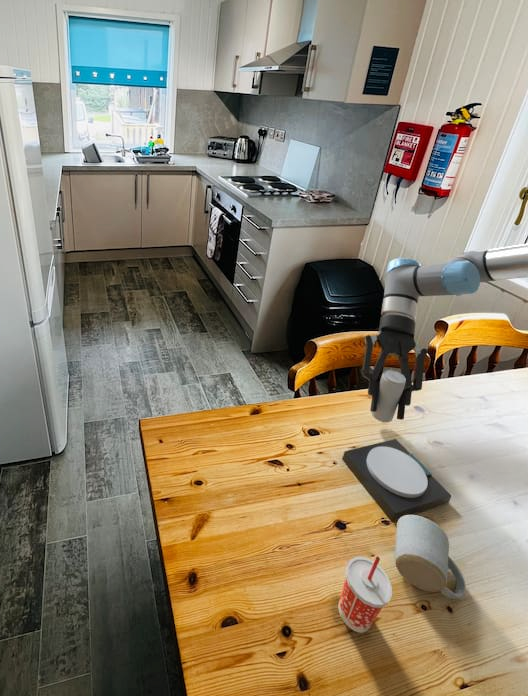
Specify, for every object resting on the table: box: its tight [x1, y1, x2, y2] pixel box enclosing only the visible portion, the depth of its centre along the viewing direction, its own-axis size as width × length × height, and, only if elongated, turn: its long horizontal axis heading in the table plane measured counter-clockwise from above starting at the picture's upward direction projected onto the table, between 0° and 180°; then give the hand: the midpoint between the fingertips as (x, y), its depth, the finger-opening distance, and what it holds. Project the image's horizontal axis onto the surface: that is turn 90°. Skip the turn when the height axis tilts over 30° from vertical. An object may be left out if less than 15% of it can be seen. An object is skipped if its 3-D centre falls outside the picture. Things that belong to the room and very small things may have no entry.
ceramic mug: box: [394, 514, 467, 600], centre depth 65 cm, size 11×8×8 cm
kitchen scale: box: [341, 438, 452, 522], centre depth 82 cm, size 14×14×3 cm
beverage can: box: [370, 369, 406, 423], centre depth 92 cm, size 5×5×12 cm
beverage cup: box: [337, 556, 393, 634], centre depth 58 cm, size 6×6×14 cm
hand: (386, 414), depth 90 cm, fingers closed on beverage can, 5 cm apart
